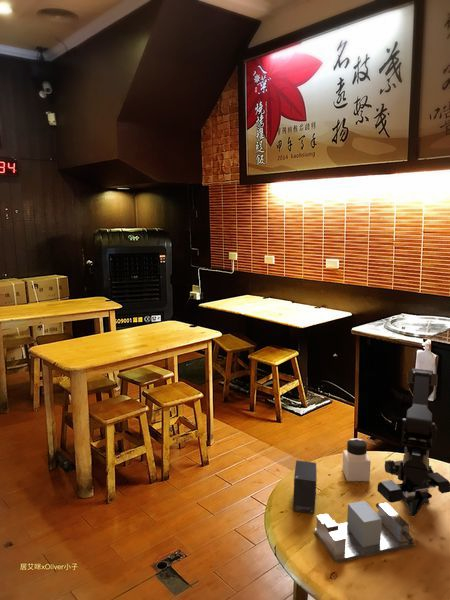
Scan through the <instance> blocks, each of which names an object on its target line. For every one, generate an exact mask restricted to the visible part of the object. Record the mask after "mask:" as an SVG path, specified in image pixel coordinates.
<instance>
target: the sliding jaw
mask: <svg viewBox="0 0 450 600" xmlns="http://www.w3.org/2000/svg"><path fill="white" fill-rule="evenodd" d="M375 508H376V509H378V510H377V511H378V512H377V514H378V515H379V516H380V517H381V519H382V524H383V525H384V526H385V527H386V528H387V529H388V530H389V531H390V532H391V533H392V534H393V535H394V537H395V538H396V539H397V540H398V541H399V542H405V541H409V542H411V541H413V540H414V538H413V537H412V536H411V535H410V527H411V526H410V524H409V523H408V522H407V521H406V520H405V519H404V518H403V517H402V516H401V515H400V514H399V513H398V512H397V511H396V510H395V509H394V508H393V507H392V506H391V505H390V504H389V502H384V503H379V502H378V503H376V504H375Z"/></svg>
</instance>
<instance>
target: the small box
mask: <svg viewBox="0 0 450 600" xmlns="http://www.w3.org/2000/svg"><path fill="white" fill-rule="evenodd" d="M317 477H318V476H317V462H315V461H314V462H311V461H305V460H304V461H303V460H299V459H298V460H296V461H295V467H294V475H293V499H292V500H293V501H292V511H293V512H299V513H305V514H315V509H316V508H315V507H316V499H317Z"/></svg>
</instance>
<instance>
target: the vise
mask: <svg viewBox="0 0 450 600" xmlns="http://www.w3.org/2000/svg"><path fill="white" fill-rule="evenodd" d="M314 534H315V535H316V537H317V538H318V540H319V541H320V542H321V543H322V545H323V547H324V548H325V550H326V551H327V552H328V553H329V555H330V557H331V558H332V559H333V561H334V562H335V564H338V563H342V562H343V563H344V562H347V561H353V560H356V559H357V560H358V559H362V558H367V557H371V556H377V555H381V554H386V553H390V552H391V553H392V552H395V551H400V550H405V549H410V548H413V547H415V542H414V541H413V540H412V541H411V542H409V541H405V542H399V541H398V540H397V539H396V538H395V537H394V535H393V534H392V533H391V532H390V531H389V530H388V529H387V528H386V527H385V526H384V525H383V524H381V542H380V544H376V545H371V546H366V547H362V546H361V544H360V543H359V542H358V541H357V539H356V538H355V537H354V536H353V534H352V533H351V532H350V531H349V529H348V528H347V522H343V523H337V522H336V520H335V519H332V518H331V517H330V515H329V514H328V513H324V514H319V515H316V527H315V528H314Z"/></svg>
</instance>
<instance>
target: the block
mask: <svg viewBox="0 0 450 600" xmlns="http://www.w3.org/2000/svg"><path fill="white" fill-rule="evenodd" d="M346 518H347V519H346V523H347V528H348V529H349V531H350V532H351V533H352V534H353V536H354V537H355V538H356V539H357V541H358V542H359V543H360V544H361V546H362V547H366V546H371V545H376V544H380V542H381V524H382V519H381V517H380V516H379V515H378V512H376V511H375V510H374V509H373V507H371V505H370V504H369V503H368V502H367V501H365V500H362V501H355V502H350V503H347V517H346Z"/></svg>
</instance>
